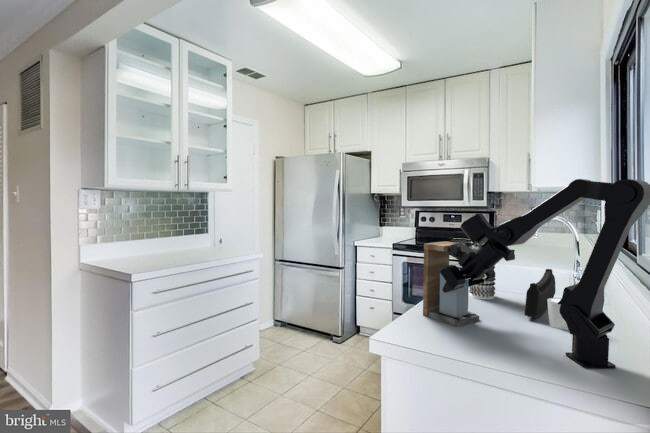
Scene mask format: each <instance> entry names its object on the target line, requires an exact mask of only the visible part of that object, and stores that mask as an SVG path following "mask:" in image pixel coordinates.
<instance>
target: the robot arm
mask: <svg viewBox="0 0 650 433" xmlns="http://www.w3.org/2000/svg"><path fill="white" fill-rule="evenodd" d="M585 199H588V200H589V199H590V200H596V201H603V202H604V221H603V224H602V227H601V229H600V232H599V234H598V236H597V239H596V241H595V243H594V246H593V249H592V251H591V253H590V255H589V258H588V260H587V263H586V265H585V268H584V269H583V270H584V271H583V273H582V275H581V277H580V280H579V281H578V283H575V284H572V285H569V286H566V287H564V289H563V292H562V295H561V296H562V297H561V298H562V299H561V300H560V301H559V302H558V304H561V306H560V310H559V311H560V314H561V316H562V318H563V319H564V320H565V321H566V323H567V326H568V329H569V330H568V331H569V334H570V335H572V337H571V338H572V341H571V342H572V345H571V352H570V351H569V352H565V354H564V355H565V356H566V357H568V358H570V359H571V360H573V361H574V362H575V363H577V364H579V365H580V366H582V367H583V368H588V369H591V368H592V369H605V368H606V369H615V368H616V364H615V363H612V362H611V361H609V353H610V352H609V351H610V349H609V348H610V338H609V337H608V336H609V335H607V334H608V333H612V331H613V330H614V327H615V326H616V325H615V322H614V321H612V319H611V318H610V317H609V316H608V315H607V314H606V313H605V312H604V303H605V287H606V285H607V282H608V281H609V278H610V277H611V276H610V275H611V274H612V271H613V270H614V269H613V268H614V267H615V264H616V262H617V260H618V257H619V255H620V253H621V251H622V249H623V248H624V244H625V242H626V240H627V237H628V235H629V233H630V230H631V228H632V227H633V225H635V224H636V222H637V221H638V220H639V219H640V217H641V216H642V215H643V214H644V213H645V212H646V211H647V209H648V207H649V206H650V183H649V182H647V181H645V180H640V179H629V178H624V179H619V180H616V181H615V182H606V181H604V182H603V181H595V180H594V181H593V180H590V179H587V178H586V179H584V178H583V179H582V178H578V179H574V180H571V182H570V183H569V184H568V185H567V186H565V187H564V188H562V189H561V190H559V191H557V192H556V193H555V194H553V195H552V196H550V197H549V198H547V199H546V200H544V201H542V202H541V203H540V204H538V205H536V206H535V207H534V208H532V209H531V210H529V211H528V212H526V213H525V214H522V215H519V216H517V217H514V218H511V219H510V220H506V221H504V222H502V223H500V224H498V226H492V224H490V222H489V221H488V220H487V219H486V217H485V216H484V215H483V213H476V214H475V215H473V216H471V217H469V218H468V219H466V220H464V221H462V223H461V225H460V227H459V228H460V229H461V230H462V232H463V233H464V234H465V235H466V237H468V239H469V240H470V242H472V243H473V244H477V243H478V244H479V245H481V244H483V243H484V244H483V245H482V246H481V247H480V248H479V249H478V250H477V251H476V252H474V251H473V250H472V249H470V248H469V247H470V246H468V245H466V244H465V243H464V244H465V245H464V244H462V242H455V244H452V245H451V246H450V247H448V254H449V256H451V257H452V258H455V259H456V260H458V263H457V264H458V265H459V266H460V267H461V268H458V266H457V265H455V264H449V265H446V266H443V267H442V268H441V269H440V273H441V275H442V276H443V277H444V279H445V280H446V283H445V285H444V287H443V289H442V290H443V292H444V293H446V292H449V291H453V290H456V289H459V288H463V287H464V286H463V285H464V284H465V281H466V279H469V288H470V286H474V285H477V284H481V283H484V280H483V279H482V278H484V277H485V275H486V276H487V277H486V278H485V281H486V282H487V281H491V280H492V279H493V278H495V279H496V271H495V268H496V265H497V264H498V263H499V262H500V261H501V260H504V261H505V262H511V261H515V260H516V255H515V249H510V248H509V247H511V246H519V245H523V244H525V243H527V242H528V240H530V239H531V238H532V237H533V236H535V235H536V233H537V232H538V230H539V229H540V228H541V227H542V226H544V225H545V224H546V223H549V222H550V221H551V220H553V219H555V218H556V217H558V216H560V215H561V214H563V213H564V212H566V211H568V210H569V209H571V208H573V207H575V205H577V204H579V203H580V202H582V201H584V200H585ZM495 264H496V265H495ZM494 265H495V266H494ZM459 269H460V271H459ZM493 269H494V270H493ZM484 274H485V275H484Z"/></svg>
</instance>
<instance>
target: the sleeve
mask: <svg viewBox="0 0 650 433" xmlns="http://www.w3.org/2000/svg"><path fill="white" fill-rule="evenodd" d="M458 269H459V271H460V268H458ZM445 283H446V280H445V279H444V277H443V276H442V275H441V273H440V313H443V315H445V316H448V317H452V318H459V317H464V316H463V315H466V314H468V312H469V290H470V287H469V279H466V281H465V284H464V285H463V286H464V287H463V288H459V289H456V290H453V291H449V292H446V293H444V292H443V290H442V289H443V287H444V285H445Z"/></svg>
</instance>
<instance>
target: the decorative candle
mask: <svg viewBox="0 0 650 433" xmlns="http://www.w3.org/2000/svg"><path fill="white" fill-rule="evenodd" d="M483 244H484V243H483ZM483 244H481V245H479V244H478V243H477V244H473V243H472V242H471V241H470V242H469V245H470V246H468V247H469V248H470V249H472V250H473V251H474V252H476V251H477V250H478V249H479V248H480V247H481V246H482V245H483ZM496 265H497V264H495V265H494V266H495V267H496ZM493 270H494V271H495V268H494V269H493ZM484 275H485V274H484ZM486 277H487V276H486V275H485V277H484V278H482V279H483V280H484V283H481V284H477V285H474V286H470V287H469V289H468V296H469V297H471V298H474V299H477V300H484V301H485V300H486V301H487V300H493V299H495V297H496V296H495V295H496V292H495V291H496V287H495V285H496V282H495V281H496V277H495V278H493V279H492V280H491V281H487V282H486V281H485V278H486Z"/></svg>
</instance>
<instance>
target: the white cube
mask: <svg viewBox="0 0 650 433" xmlns="http://www.w3.org/2000/svg"><path fill="white" fill-rule="evenodd" d="M561 299H562V297H561V298H560V297H553V298H549V299H547V302H548V309H547V313H548V325H549V326H550V327H552V328H555V329H559V330H568V331H569V329H568V326H567V323H566V321H565V320H564V319H563V318H562V316H561V314H560V311H559V310H560V306H561V304H558V302H559V301H560V300H561Z"/></svg>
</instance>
